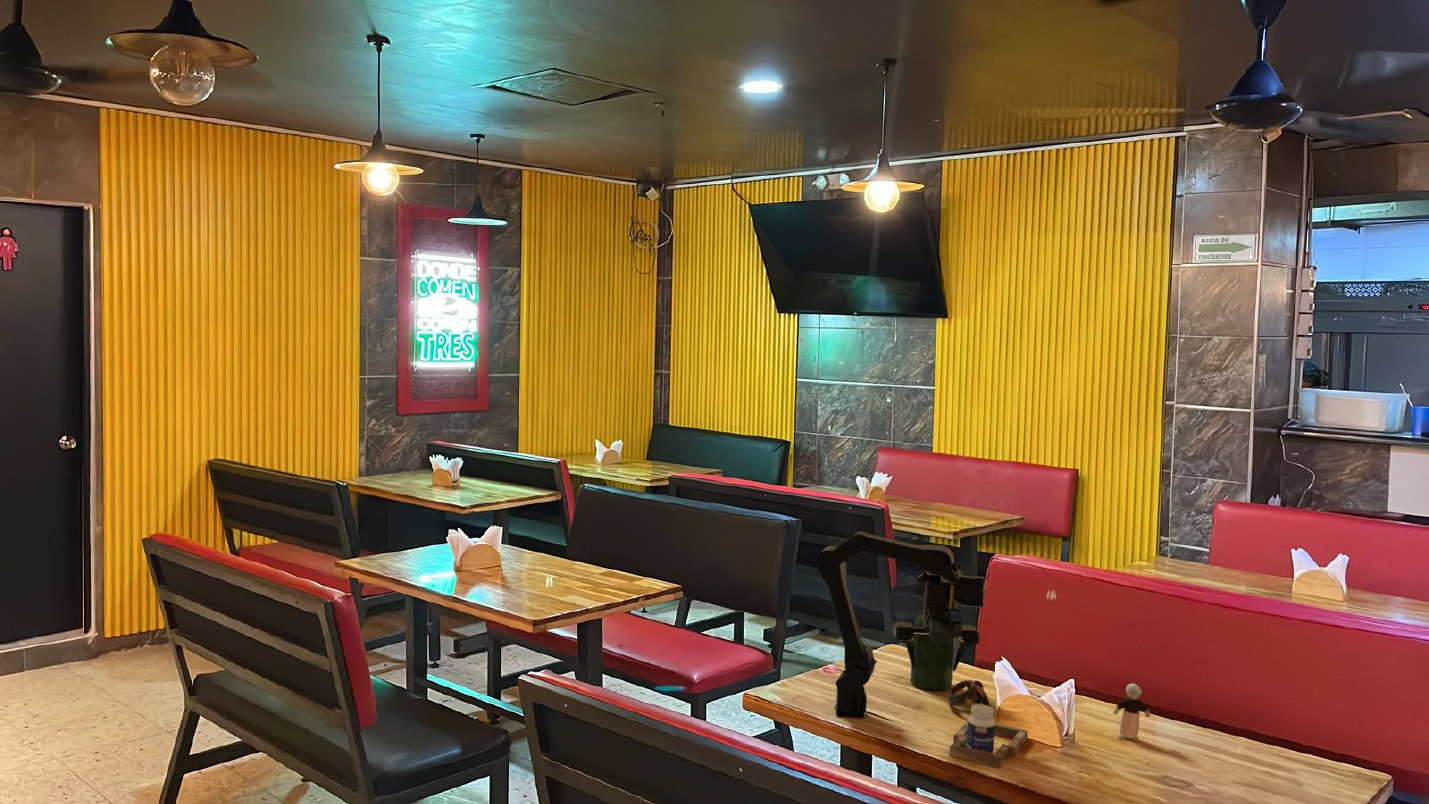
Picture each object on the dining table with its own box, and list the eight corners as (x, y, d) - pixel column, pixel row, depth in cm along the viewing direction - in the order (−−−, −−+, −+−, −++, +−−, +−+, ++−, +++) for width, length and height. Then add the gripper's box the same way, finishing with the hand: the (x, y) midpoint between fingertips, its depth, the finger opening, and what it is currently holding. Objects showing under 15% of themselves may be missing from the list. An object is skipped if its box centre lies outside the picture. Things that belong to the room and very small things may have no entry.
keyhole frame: (969, 726, 244) (970, 717, 243) (1027, 739, 237) (1027, 730, 237) (943, 754, 226) (944, 745, 226) (1005, 769, 220) (1005, 759, 220)
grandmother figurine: (1116, 740, 239) (1120, 685, 238) (1110, 734, 243) (1114, 680, 242) (1150, 742, 239) (1154, 687, 238) (1144, 736, 242) (1148, 681, 242)
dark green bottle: (957, 684, 274) (963, 588, 272) (943, 694, 265) (949, 595, 263) (919, 675, 279) (924, 581, 277) (904, 685, 270) (909, 588, 269)
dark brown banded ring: (989, 723, 248) (973, 693, 247) (953, 732, 253) (938, 702, 252) (1000, 696, 258) (985, 667, 257) (966, 705, 263) (951, 676, 262)
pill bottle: (973, 759, 224) (976, 713, 223) (960, 748, 229) (963, 703, 229) (998, 757, 225) (1001, 711, 225) (984, 747, 231) (987, 702, 230)
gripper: (901, 609, 234) (897, 678, 235) (986, 613, 233) (982, 683, 234) (894, 596, 245) (890, 663, 246) (976, 601, 244) (971, 667, 245)
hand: (933, 669), depth 242 cm, fingers open, 9 cm apart
